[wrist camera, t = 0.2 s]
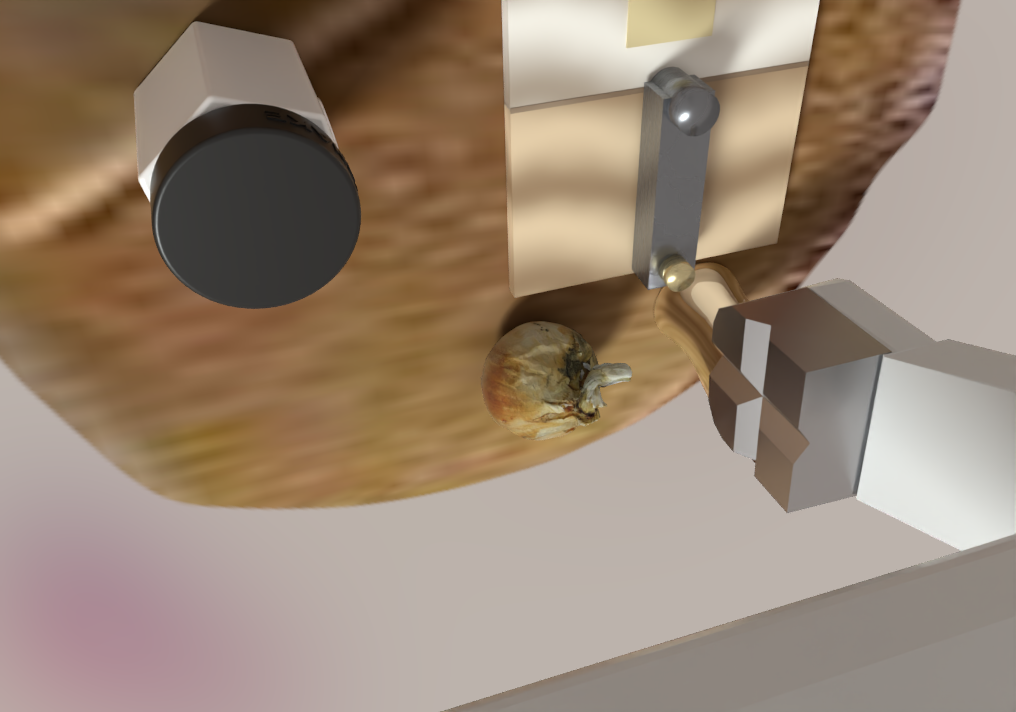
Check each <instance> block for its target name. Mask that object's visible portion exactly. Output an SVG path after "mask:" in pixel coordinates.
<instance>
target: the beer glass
mask: <svg viewBox="0 0 1016 712" xmlns="http://www.w3.org/2000/svg"><path fill="white" fill-rule="evenodd" d="M695 274H696V275H695V279H694V282H693V283H692V284H691V286H690V287H688V288H687V289H685V290H683V291H680V292H674V291H672V290H670V289H669V287H668V286H664V287H663V288H662V290H661V291H660V293H659V295H658V297H657V299H656V302H655V306H654V319H655V323H656V325H657V327H658V329H659V330H660V331H661V332H662V333H663V334H664V335H665V336H666V337H668V338H669V339H670V340H672V341H673V342H674V343H676V344H677V345H678V346H679V347H680V348H681V349H682V350H683V351H684V352H685V353H686V355H687V356H688V358H689V359H690V361H691V362H692V364H693V366H694V368H695V370H696V372H697V375H698V377H699V379H700V381H701V383H702V386H703V387H704V390H705V392H706V394H707V396H709V375H710V373H711V372H712V370H713V369H714V367H715V366H716V364H717V363H718V361H719V360H720V359H721V357H722V356H723V355H722V354H721V353H720V351H719V350H718V349H717V348H716V347H715V345H714V344H713V343H712V331H713V322H714V319H715V317H716V314H717V312H718V309H719V308H723V307H727V306H731V305H735V304H739V303H743V302H748V301H749V300H748V298H747V297H746V296H745V294H744V292H743V291H742V289H741V287H740V285H739V283H738V281H737V280H736V278H735V276H734V275H733V274H732V272H731V271H730V270H729V269H727V268H726V267H724V266H723V265H721V264H718V263H713V262H704V263H698V264H695ZM752 460H753V459H752ZM753 461H754V463H756V460H753Z"/></svg>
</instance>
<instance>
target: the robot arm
mask: <svg viewBox="0 0 1016 712" xmlns="http://www.w3.org/2000/svg"><path fill="white" fill-rule="evenodd" d="M712 343H713V344H714V345H715V347H716V348H717V349H718V350H719V351H720V353H721V354H722V355H723V356H722V357H721V359H720V360H719V361H718V363H717V364H716V366H715V367H714V369H713V370H712V372H711V373H710V375H709V396H708V400H709V405H710V409H711V413H712V417H713V421H714V424H715V426H716V428H717V430H718V432H719V434H720V436H721V437H722V439H723V440H724V441H725V442H726V444H727V445H728V446H729V447H730V449H731V450H732V451H733V452H735V453H737V454H740V455H743V456H745V457H748V458H751V459H753V460H756V463H755V474H754V476H755V477H756V479H757V480H758V481H759V482H760V483H761V484H762V485H763V486H764V487H765V489H766V490H767V491H768V492H769V493H770V494H771V496H772V497H773V498H774V499H775V500H776V501H777V502H778V503H779V505H780V506H781V507H782V508H783V509H784V510H785V511H786V512H787V513H789V512H793V511H797V510H801V509H805V508H809V507H813V506H817V505H821V504H825V503H829V502H833V501H837V500H841V499H844V498H848V497H853V496H857V498H856V499H857V500H859V501H861V502H863V503H865V504H867V505H869V506H871V507H873V508H875V509H878V510H879V511H881V512H883V513H886V514H888V515H890V516H892V517H894V518H896V519H898V520H900V521H902V522H904V523H906V524H908V525H910V526H912V527H914V528H916V529H918V530H920V531H922V532H924V533H926V534H928V535H930V536H932V537H934V538H936V539H938V540H940V541H942V542H944V543H946V544H948V545H951V546H953V547H955V548H957V549H959V550H961V551H959V552H956V553H953V554H950V555H947V556H943V557H940V558H937V559H934V560H931V561H927V562H924V563H921V564H918V565H914V566H911V567H908V568H905V569H902V570H898V571H895V572H892V573H888V574H885V575H882V576H879V577H876V578H872V579H869V580H866V581H862V582H859V583H856V584H853V585H850V586H846V587H843V588H840V589H837V590H833V591H830V592H827V593H823V594H820V595H817V596H814V597H810V598H807V599H804V600H801V601H798V602H794V603H791V604H788V605H784V606H781V607H778V608H775V609H771V610H768V611H765V612H762V613H758V614H755V615H752V616H748V617H746V618H742V619H739V620H735V621H732V622H729V623H726V624H722V625H719V626H716V627H713V628H710V629H706V630H703V631H700V632H696V633H693V634H690V635H687V636H684V637H680V638H677V639H674V640H670V641H667V642H664V643H661V644H657V645H655V646H651V647H648V648H644V649H641V650H638V651H635V652H631V653H628V654H625V655H622V656H618V657H615V658H612V659H609V660H606V661H603V662H599V663H596V664H593V665H590V666H586V667H583V668H580V669H577V670H573V671H570V672H567V673H564V674H560V675H557V676H554V677H551V678H548V679H544V680H541V681H538V682H535V683H532V684H528V685H525V686H522V687H519V688H515V689H512V690H509V691H506V692H502V693H499V694H496V695H493V696H490V697H486V698H483V699H480V700H477V701H473V702H471V703H467V704H464V705H461V706H457V707H454V708H451V709H448V710H445V711H441V712H1016V356H1015V355H1011V354H1007V353H1002V352H999V351H995V350H990V349H986V348H982V347H978V346H974V345H970V344H966V343H962V342H957V341H954V340H949V339H947V340H943V341H939V342H936V341H934V340H933V339H932V338H930V337H929V336H928V335H926V334H925V333H923V332H922V331H920V330H919V329H918V328H916V327H915V326H913V325H912V324H911V323H909V322H908V321H906V320H905V319H903V318H902V317H900V316H899V315H898V314H896V313H895V312H894V311H892V310H891V309H889V308H888V307H886V306H885V305H884V304H882V303H881V302H880V301H878V300H877V299H875V298H874V297H873V296H871V295H870V294H868V293H867V292H865V291H864V290H863V289H861V288H860V287H858V286H857V285H856V284H854V283H853V282H851V281H850V280H844V279H838V278H837V279H833V280H829V281H825V282H821V283H817V284H814V285H810V286H806V287H802V288H799V289H797V290H793V291H788V292H784V293H780V294H776V295H772V296H768V297H764V298H760V299H756V300H752V301H748V302H743V303H739V304H735V305H731V306H727V307H723V308H719V309H718V312H717V314H716V317H715V319H714V322H713V331H712Z"/></svg>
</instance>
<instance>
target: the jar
mask: <svg viewBox="0 0 1016 712" xmlns="http://www.w3.org/2000/svg"><path fill="white" fill-rule="evenodd" d="M134 106H135V125H136V144H137V164H138V180H139V183H140V185H141V186H142V188H143V190H144V192H145V194H146V196H147V198H148V200H149V201H150V204H151V218H152V230H153V235H154V240H155V243H156V246H157V248H158V251H159V253H160V255H161V257H162V259H163V261H164V262H165V264H166V265H167V267H168V268H169V269H170V271H171V272H172V273H173V274H174V275H175V276H176V277H177V279H178V280H179V281H181V282H182V283H183V284H184V285H185V286H187V287H188V288H189V289H191V290H192V291H194V292H195V293H197V294H199V295H201V296H202V297H205V298H207V299H209V300H211V301H214V302H217V303H220V304H223V305H227V306H232V307H238V308H248V309H260V308H271V307H277V306H282V305H286V304H289V303H292V302H295V301H298V300H300V299H303V298H305V297H307V296H309V295H311V294H313V293H314V292H316V291H317V290H319V289H321V288H322V287H323V286H325V285H326V284H327V283H328V282H330V281H331V280H332V279H333V278H334V277H335V276H336V275H337V274H338V273H339V272H340V270H341V269H342V268H343V267H344V265H345V264H346V262H347V261H348V259H349V258H350V256H351V254H352V252H353V250H354V248H355V245H356V242H357V239H358V236H359V231H360V225H361V207H360V200H359V196H358V192H357V191H358V190H357V186H356V184H355V179H354V177H353V174H352V172H351V170H350V168H349V165H348V163H347V162H346V160H345V158H344V156H343V154H341V152H340V151H339V148H338V145H337V142H336V139H335V136H334V133H333V130H332V128H331V125H330V122H329V120H328V117H327V114H326V112H325V109H324V107H323V104H322V102H321V100H320V98H317V96H316V94H315V91H314V89H313V87H312V84H311V82H310V80H309V77H308V75H307V73H306V70H305V68H304V66H303V63H302V61H301V59H300V57H299V54H298V52H297V50H296V47H295V45H294V43H293V42H292V41H290V40H287V39H282V38H277V37H272V36H267V35H262V34H257V33H253V32H248V31H243V30H238V29H233V28H228V27H223V26H218V25H213V24H208V23H203V22H198V21H195V22H193V23H192V24H191V25H190V26H189V27H188V28H187V30H186V31H185V32H184V33H183V34H182V36H181V37H180V38H179V39H178V40H177V42H176V43H175V44H174V45H173V46H172V47H171V49H170V50H169V51H168V52H167V53H166V55H165V56H164V57H163V58H162V59H161V61H160V62H159V63H158V64H157V65H156V66H155V68H154V69H153V70H152V71H151V72H150V74H149V75H148V76H147V77H146V78H145V80H144V81H143V82H142V83H141V84H140V85H139V87H138V88H137V89H136V90H135V92H134Z"/></svg>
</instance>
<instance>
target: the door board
mask: <svg viewBox="0 0 1016 712" xmlns="http://www.w3.org/2000/svg"><path fill="white" fill-rule="evenodd" d="M819 1H820V0H502V33H503V70H504V107H505V144H506V181H507V217H508V254H509V289H510V291H511V293H512V294H513V296H514V298H516V297H521V296H526V295H530V294H535V293H540V292H545V291H550V290H554V289H559V288H564V287H569V286H574V285H578V284H583V283H588V282H593V281H598V280H602V279H607V278H612V277H617V276H622V275H626V274H631V273H634V272H633V270H632V256H633V241H634V226H635V211H636V196H637V182H638V167H639V152H640V137H641V122H642V108H643V93H644V82H649V81H651V80H652V78H653V77H654V76H655V75H656V74H657V73H658V72H659V71H661V70H662V69H664V68H667V67H677V68H680V69H681V70H683V71H684V72H685V73H686V74H688V75H694V74H695V75H696V76H697V77H698V78H700V79H701V80H702V81H704V82H705V83H706V84H707V85H709V86H710V87H711V88H712V89H714V90H715V97H716V98H717V99H718V101H719V104H720V113H719V117H718V119H717V121H716V123H715V124H714V126H713V127H712V128H711V132H710V141H709V150H708V158H707V167H706V175H705V184H704V193H703V201H702V210H701V218H700V227H699V236H698V244H697V253H696V260H698V259H703V258H708V257H713V256H718V255H722V254H727V253H732V252H737V251H742V250H746V249H751V248H756V247H761V246H766V245H770V244H775V243H777V240H778V234H779V229H780V223H781V217H782V212H783V206H784V200H785V195H786V189H787V183H788V178H789V172H790V166H791V161H792V155H793V149H794V144H795V138H796V132H797V127H798V121H799V115H800V109H801V104H802V98H803V92H804V87H805V81H806V75H807V70H808V66H809V58H810V53H811V47H812V41H813V36H814V30H815V24H816V19H817V13H818V7H819Z"/></svg>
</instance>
